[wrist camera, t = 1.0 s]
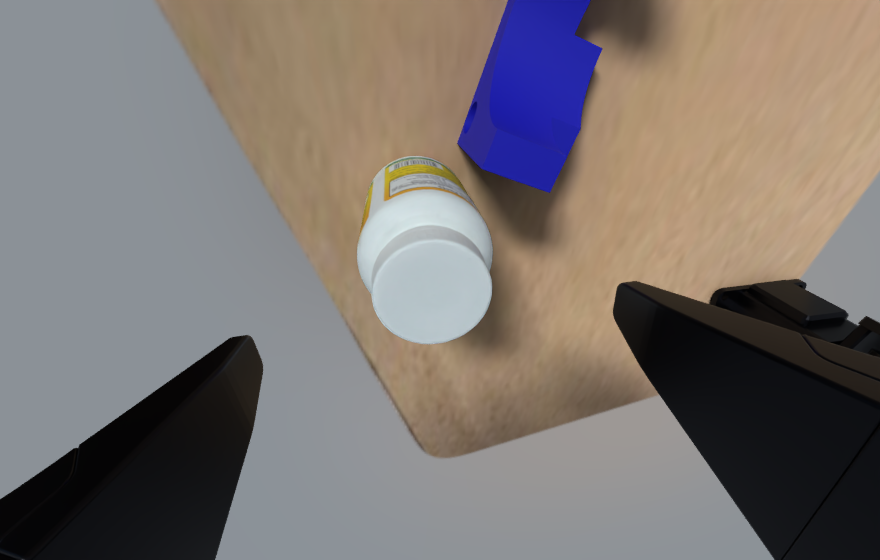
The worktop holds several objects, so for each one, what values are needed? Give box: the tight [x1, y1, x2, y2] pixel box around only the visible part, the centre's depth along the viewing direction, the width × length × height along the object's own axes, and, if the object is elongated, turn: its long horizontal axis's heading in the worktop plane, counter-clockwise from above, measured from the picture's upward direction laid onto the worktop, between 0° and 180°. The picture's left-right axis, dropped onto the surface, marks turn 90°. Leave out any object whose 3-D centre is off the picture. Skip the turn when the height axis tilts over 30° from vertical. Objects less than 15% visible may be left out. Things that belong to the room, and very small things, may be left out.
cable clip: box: [457, 0, 602, 193], centre depth 15 cm, size 12×4×6 cm, turn 161°
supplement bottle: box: [357, 156, 493, 344], centre depth 17 cm, size 5×5×10 cm
